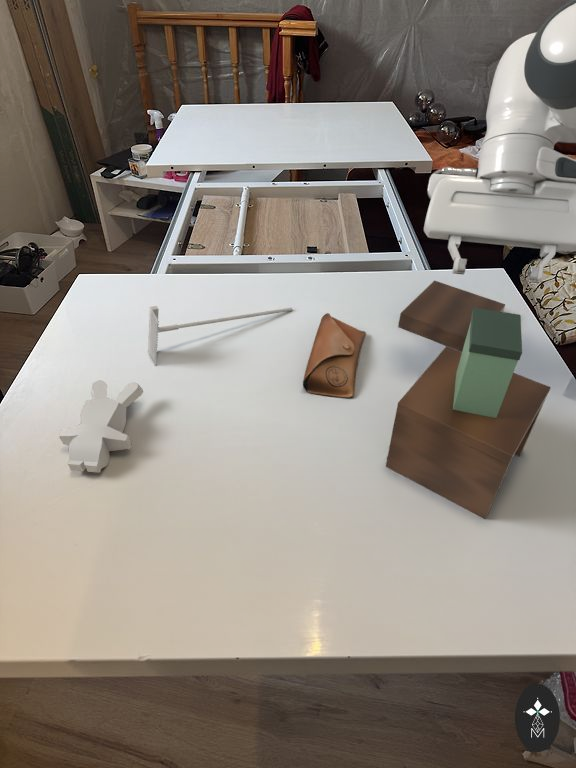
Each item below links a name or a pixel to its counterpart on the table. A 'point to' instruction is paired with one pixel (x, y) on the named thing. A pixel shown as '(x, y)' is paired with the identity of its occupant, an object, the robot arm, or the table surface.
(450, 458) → the upper shelf
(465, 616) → the table surface
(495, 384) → the green lidded box
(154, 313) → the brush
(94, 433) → the white musician cutout
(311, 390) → the sunglasses case
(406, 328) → the lower shelf
